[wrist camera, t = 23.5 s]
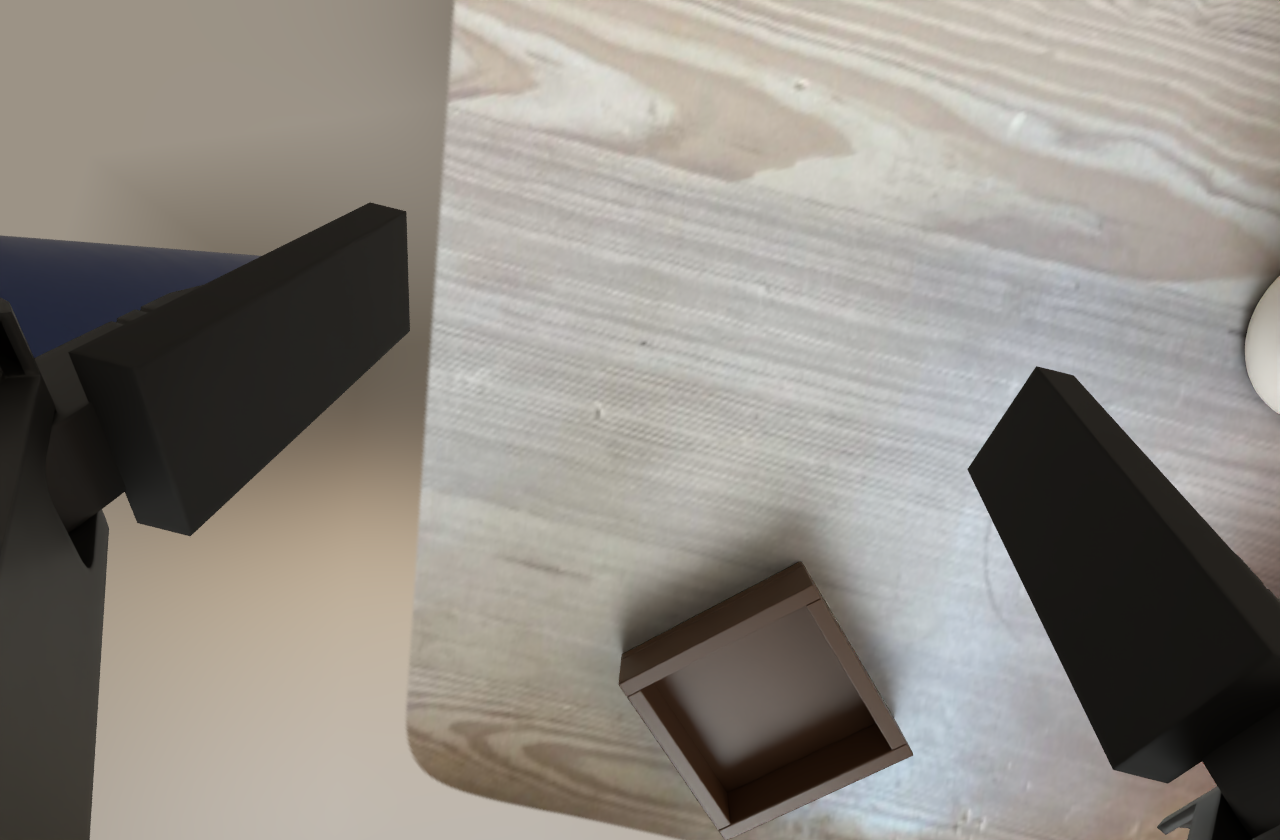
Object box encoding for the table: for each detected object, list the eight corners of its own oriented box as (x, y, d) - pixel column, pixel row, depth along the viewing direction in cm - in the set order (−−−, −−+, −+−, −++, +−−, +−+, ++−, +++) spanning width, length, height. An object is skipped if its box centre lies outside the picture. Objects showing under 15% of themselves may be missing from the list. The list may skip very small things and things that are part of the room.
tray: (621, 654, 32) (617, 684, 29) (801, 560, 30) (813, 584, 28) (720, 801, 33) (725, 841, 31) (895, 720, 32) (914, 755, 30)
